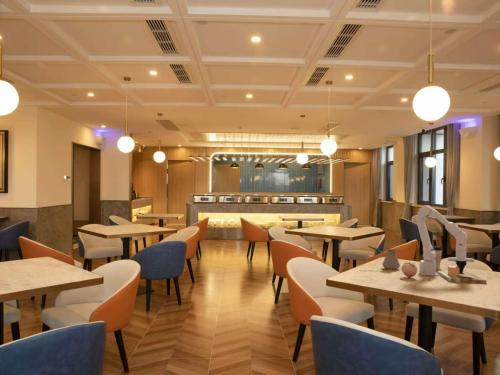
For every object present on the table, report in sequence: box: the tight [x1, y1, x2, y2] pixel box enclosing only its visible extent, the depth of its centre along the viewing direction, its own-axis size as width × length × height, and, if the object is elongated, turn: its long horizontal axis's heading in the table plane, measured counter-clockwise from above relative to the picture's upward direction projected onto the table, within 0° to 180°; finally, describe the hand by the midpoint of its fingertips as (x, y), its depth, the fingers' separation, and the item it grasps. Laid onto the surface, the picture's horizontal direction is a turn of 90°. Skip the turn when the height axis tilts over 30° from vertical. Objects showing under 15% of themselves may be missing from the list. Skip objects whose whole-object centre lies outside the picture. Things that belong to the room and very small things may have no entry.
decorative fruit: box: [400, 261, 418, 278], centre depth 244 cm, size 9×8×10 cm
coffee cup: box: [432, 245, 443, 270], centre depth 277 cm, size 9×9×15 cm
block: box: [447, 265, 459, 276], centre depth 245 cm, size 5×5×5 cm
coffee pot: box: [367, 245, 401, 271], centre depth 273 cm, size 21×12×15 cm, turn 70°
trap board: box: [437, 270, 487, 285], centre depth 244 cm, size 20×23×2 cm
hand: (460, 273), depth 244 cm, fingers closed
